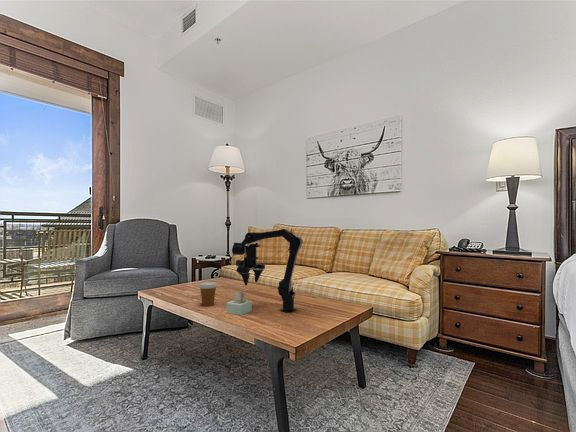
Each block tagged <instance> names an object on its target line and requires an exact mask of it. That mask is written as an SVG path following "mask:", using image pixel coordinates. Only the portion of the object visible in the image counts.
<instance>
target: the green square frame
mask: <svg viewBox="0 0 576 432" xmlns="http://www.w3.org/2000/svg"><path fill="white" fill-rule="evenodd" d="M252 305H253V301H252V300H246V299H245V302H244V303H242V304H237V303H234V300H231V301H227V302H226V313H227V314H231V315H232V314H233V315H236V316H237V315H238V316H243V315H245V314H248V313H249V312H252V310H253V309H252V308H253V306H252Z"/></svg>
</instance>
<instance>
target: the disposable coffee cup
mask: <svg viewBox="0 0 576 432" xmlns="http://www.w3.org/2000/svg"><path fill="white" fill-rule="evenodd" d="M217 285H218V284H217V282H215V281H214V282H213V281H204V282H201V283H200V284H199V288H200V296H201V305H202V306H203V307H211V306H214V304H215V296H216V289H217Z"/></svg>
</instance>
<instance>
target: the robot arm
mask: <svg viewBox="0 0 576 432" xmlns="http://www.w3.org/2000/svg"><path fill="white" fill-rule="evenodd" d="M278 237H280V238H281V237H282V238H283V239H284V240H285V241H287V242H288V243H289V254H288V259H287V264H286V268H285V271H284V274H283V275H284V276H283V279H281V280H280V281H278V287H277V293H278V295H279V296H280V297H281V300H282V308H281V309H280V312H284V313H285V312H286V313H292V312H294V311H297V307H295V296H296V292H295V291H294V290H293V289H292V287H293V286H292V285H293V282H292V279H293V274H294V270H295V267H296V261H297V257H298V254H299V252H300V250H301V248H302V246H303V241H304V240H303V238H302V237H301V236H296V235H295V234H293V233H292V232H291V231H289V230H288V229H286V228H281V229H276V230H271V231H270V230H269V231H263V232H258V231H251V232H247V233H246V234H245V236H244V239H243V240H242V242H233V245H232V249H231V253H232V255H233V256H244V255H245V256H244V257H243V260H241V259H237V260H235V266H236V273H238V274H239V275H240V276H241V278H242V281H243V283H244V286H248V283H249V279H250V276H251V275H250V274H251V273H250V271H253V273H254V283H258V281H259V280H260V277H261V276H262V273H263V272H264V270H265V269H266V265H265V264H264V263H257V260H258V259H259V256H257V252H258V251H257V248H260V247H261V245H260V244H259V241H262V240H266V239H272V238H278Z"/></svg>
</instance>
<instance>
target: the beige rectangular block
mask: <svg viewBox="0 0 576 432" xmlns="http://www.w3.org/2000/svg"><path fill="white" fill-rule="evenodd" d="M245 300H246V292H245V291H240V290H239V291H236V292H234V293H233V301H234V303H237V304H242V303H244V302H245Z"/></svg>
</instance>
